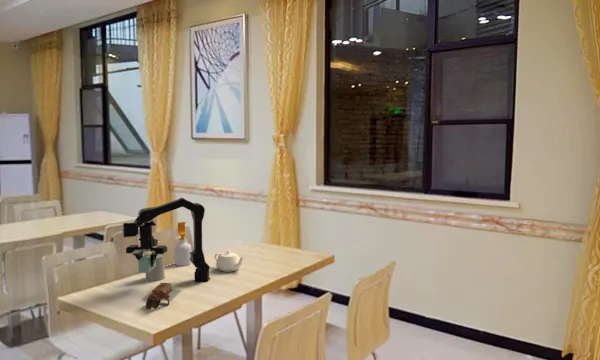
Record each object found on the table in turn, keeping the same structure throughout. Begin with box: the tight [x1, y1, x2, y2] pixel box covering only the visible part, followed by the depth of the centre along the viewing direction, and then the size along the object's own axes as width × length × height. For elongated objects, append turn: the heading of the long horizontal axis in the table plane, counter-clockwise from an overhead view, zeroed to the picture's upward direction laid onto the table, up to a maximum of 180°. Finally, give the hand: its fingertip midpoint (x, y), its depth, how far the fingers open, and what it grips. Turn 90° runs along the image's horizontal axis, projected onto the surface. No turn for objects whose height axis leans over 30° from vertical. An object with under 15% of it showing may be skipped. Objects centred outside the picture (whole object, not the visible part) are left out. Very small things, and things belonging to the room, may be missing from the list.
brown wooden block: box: [151, 286, 167, 299], centre depth 221 cm, size 5×5×4 cm
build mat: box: [141, 289, 182, 302], centre depth 224 cm, size 14×14×1 cm
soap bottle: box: [174, 221, 192, 267], centre depth 274 cm, size 9×9×25 cm
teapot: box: [214, 249, 245, 273], centre depth 264 cm, size 22×14×11 cm, turn 55°
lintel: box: [137, 253, 156, 274], centre depth 233 cm, size 11×4×6 cm, turn 178°
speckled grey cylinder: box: [145, 254, 166, 282], centre depth 248 cm, size 10×10×12 cm
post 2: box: [156, 282, 173, 295], centre depth 227 cm, size 5×5×4 cm
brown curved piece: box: [145, 290, 170, 310], centre depth 210 cm, size 12×10×8 cm
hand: (147, 266), depth 233 cm, fingers closed on lintel, 5 cm apart
